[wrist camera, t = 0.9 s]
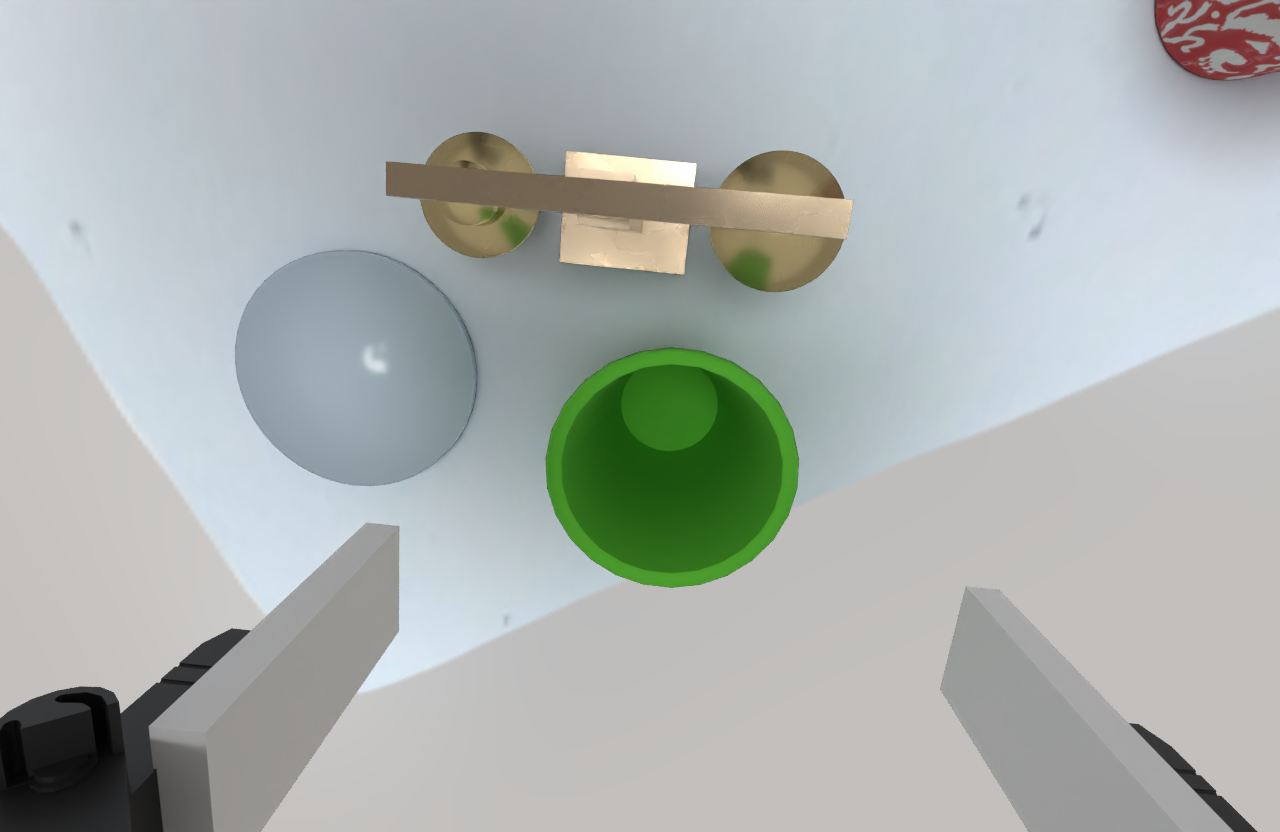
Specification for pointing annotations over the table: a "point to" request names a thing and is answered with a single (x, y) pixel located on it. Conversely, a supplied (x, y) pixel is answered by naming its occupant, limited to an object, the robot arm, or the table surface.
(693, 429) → the cup
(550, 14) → the table surface
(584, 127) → the table surface
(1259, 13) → the mug
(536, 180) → the balance
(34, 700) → the robot arm
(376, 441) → the dish
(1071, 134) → the table surface
